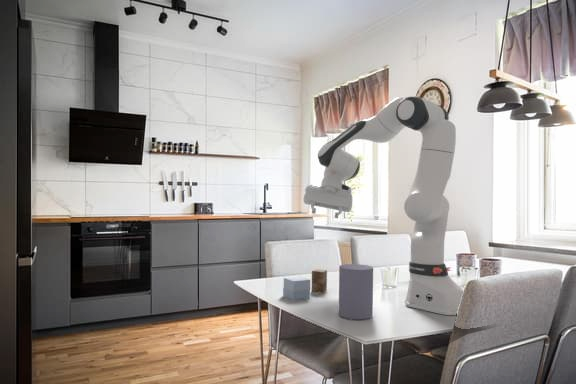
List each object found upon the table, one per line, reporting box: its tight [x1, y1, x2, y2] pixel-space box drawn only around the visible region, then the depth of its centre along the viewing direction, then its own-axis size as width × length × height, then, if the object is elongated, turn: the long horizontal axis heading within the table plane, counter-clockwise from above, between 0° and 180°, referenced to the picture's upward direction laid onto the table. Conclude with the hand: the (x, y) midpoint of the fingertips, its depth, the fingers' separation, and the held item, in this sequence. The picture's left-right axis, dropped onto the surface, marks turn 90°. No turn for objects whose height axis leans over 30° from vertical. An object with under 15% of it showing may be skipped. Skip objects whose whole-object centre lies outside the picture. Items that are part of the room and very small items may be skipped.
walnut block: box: [311, 268, 328, 294], centre depth 164 cm, size 4×4×8 cm
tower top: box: [283, 276, 311, 291], centre depth 154 cm, size 7×7×4 cm
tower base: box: [282, 287, 311, 301], centre depth 154 cm, size 7×7×4 cm
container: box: [338, 263, 374, 321], centre depth 131 cm, size 10×10×15 cm
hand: (324, 215), depth 173 cm, fingers open, 8 cm apart
